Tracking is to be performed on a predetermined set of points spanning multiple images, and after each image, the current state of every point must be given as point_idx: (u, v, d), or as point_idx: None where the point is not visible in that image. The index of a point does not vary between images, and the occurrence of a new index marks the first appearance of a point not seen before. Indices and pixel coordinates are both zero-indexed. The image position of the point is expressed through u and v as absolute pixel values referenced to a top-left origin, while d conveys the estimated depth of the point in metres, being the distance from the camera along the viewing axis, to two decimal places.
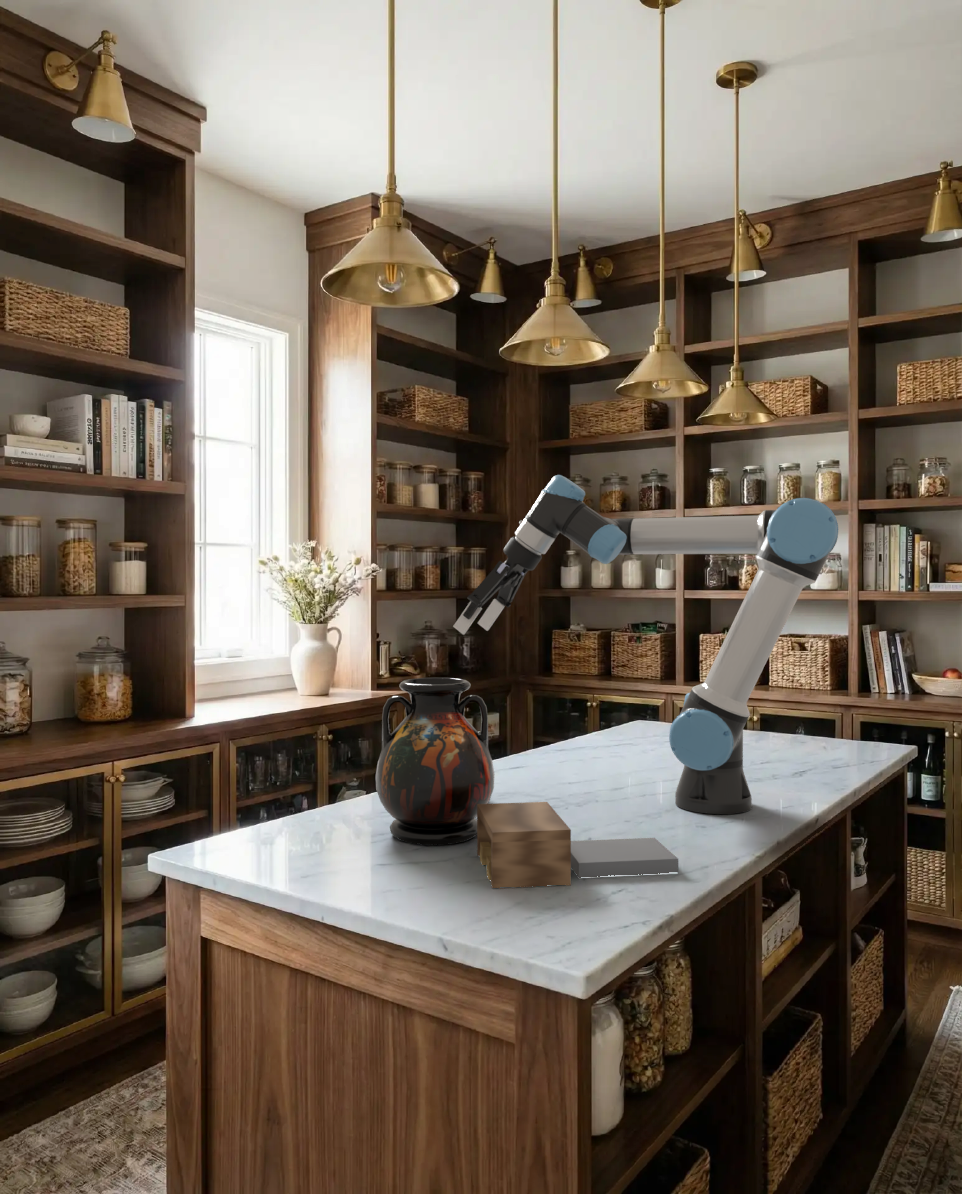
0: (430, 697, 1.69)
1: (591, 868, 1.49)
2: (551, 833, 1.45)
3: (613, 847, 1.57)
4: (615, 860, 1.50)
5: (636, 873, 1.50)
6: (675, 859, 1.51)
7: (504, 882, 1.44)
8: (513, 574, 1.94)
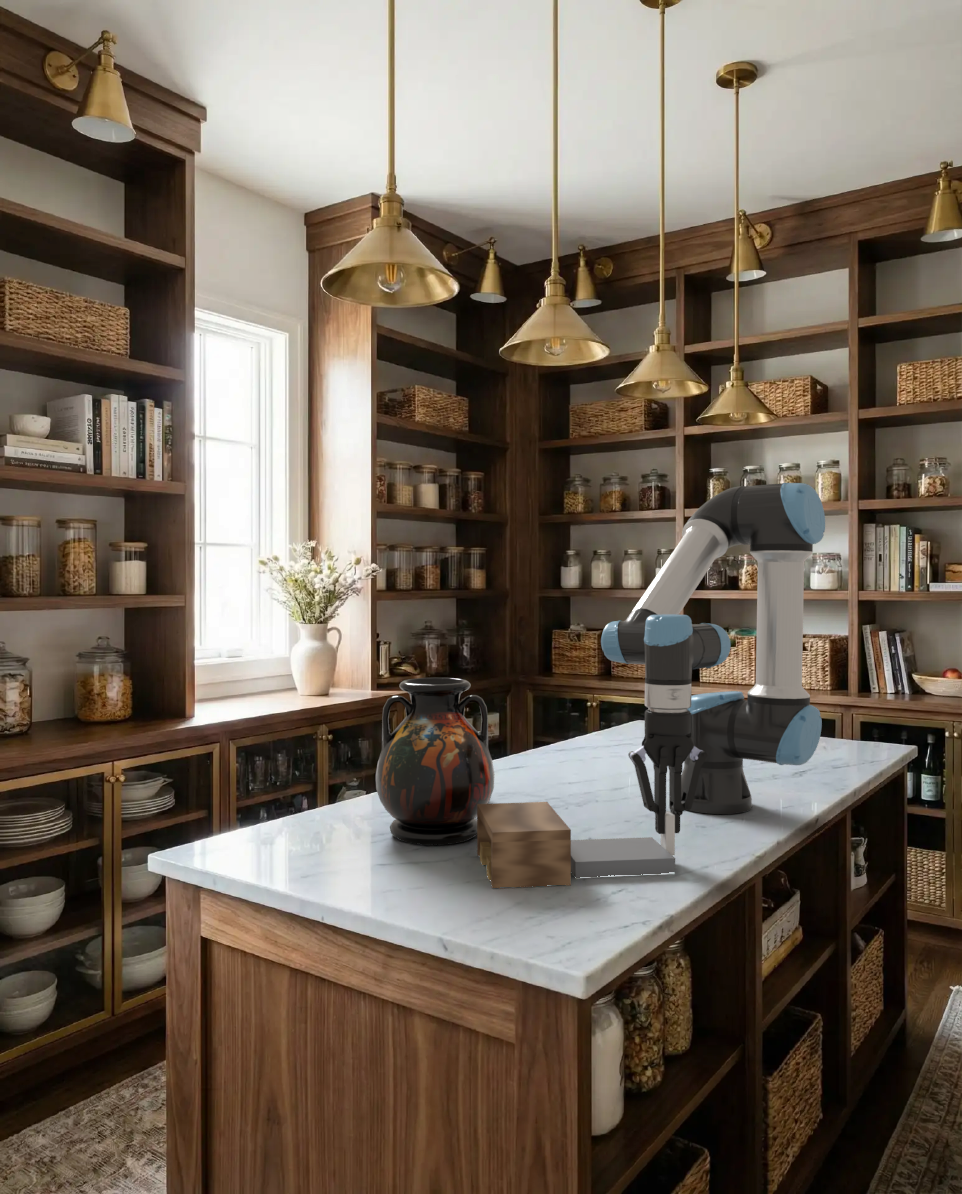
0: (430, 697, 1.69)
1: (587, 867, 1.49)
2: (551, 833, 1.45)
3: (610, 847, 1.57)
4: (612, 859, 1.50)
5: (633, 872, 1.50)
6: (672, 858, 1.51)
7: (504, 882, 1.44)
8: None
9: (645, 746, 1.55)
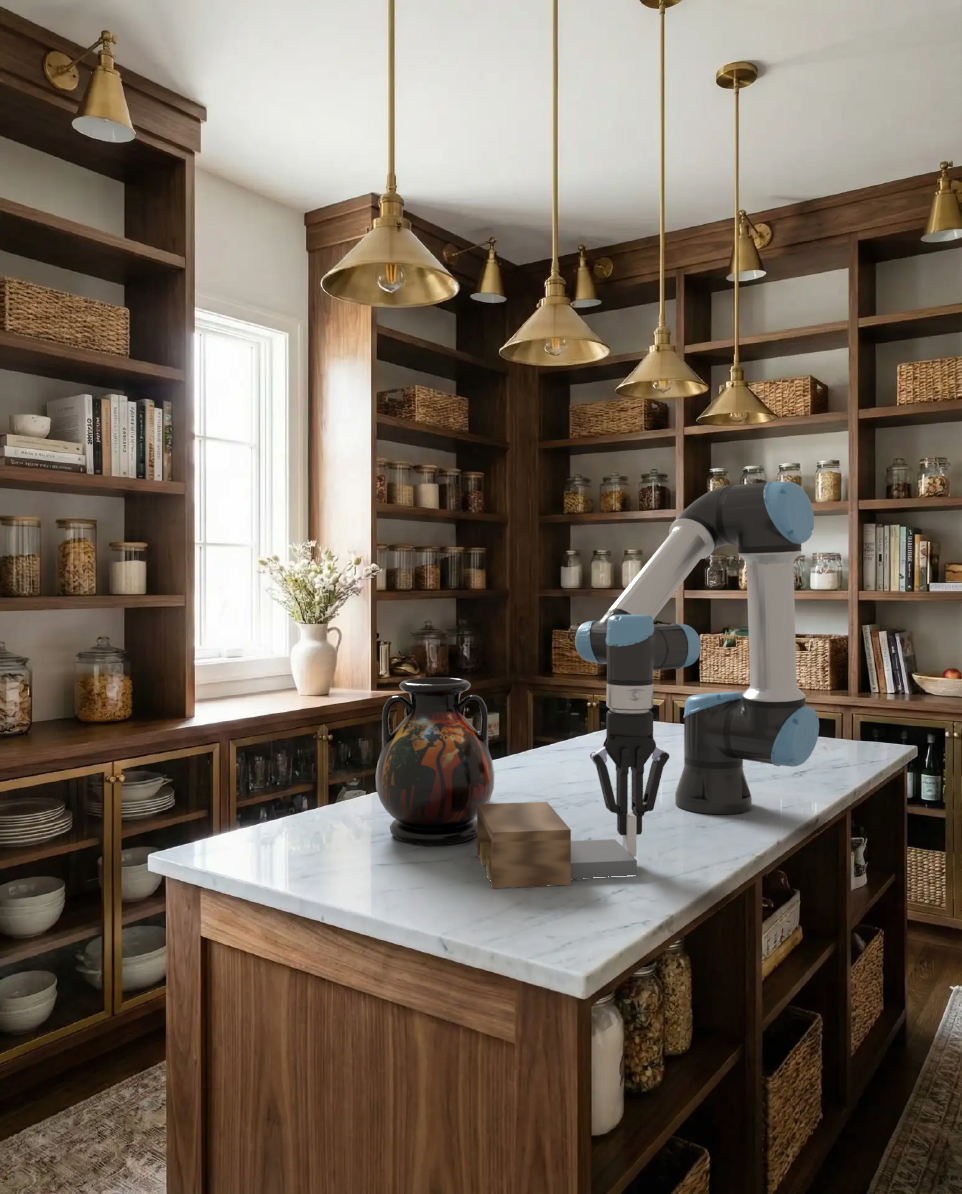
0: (430, 697, 1.69)
1: None
2: (551, 833, 1.45)
3: (572, 849, 1.56)
4: (573, 862, 1.49)
5: (594, 875, 1.49)
6: (633, 861, 1.50)
7: (504, 882, 1.44)
8: None
9: (606, 747, 1.54)
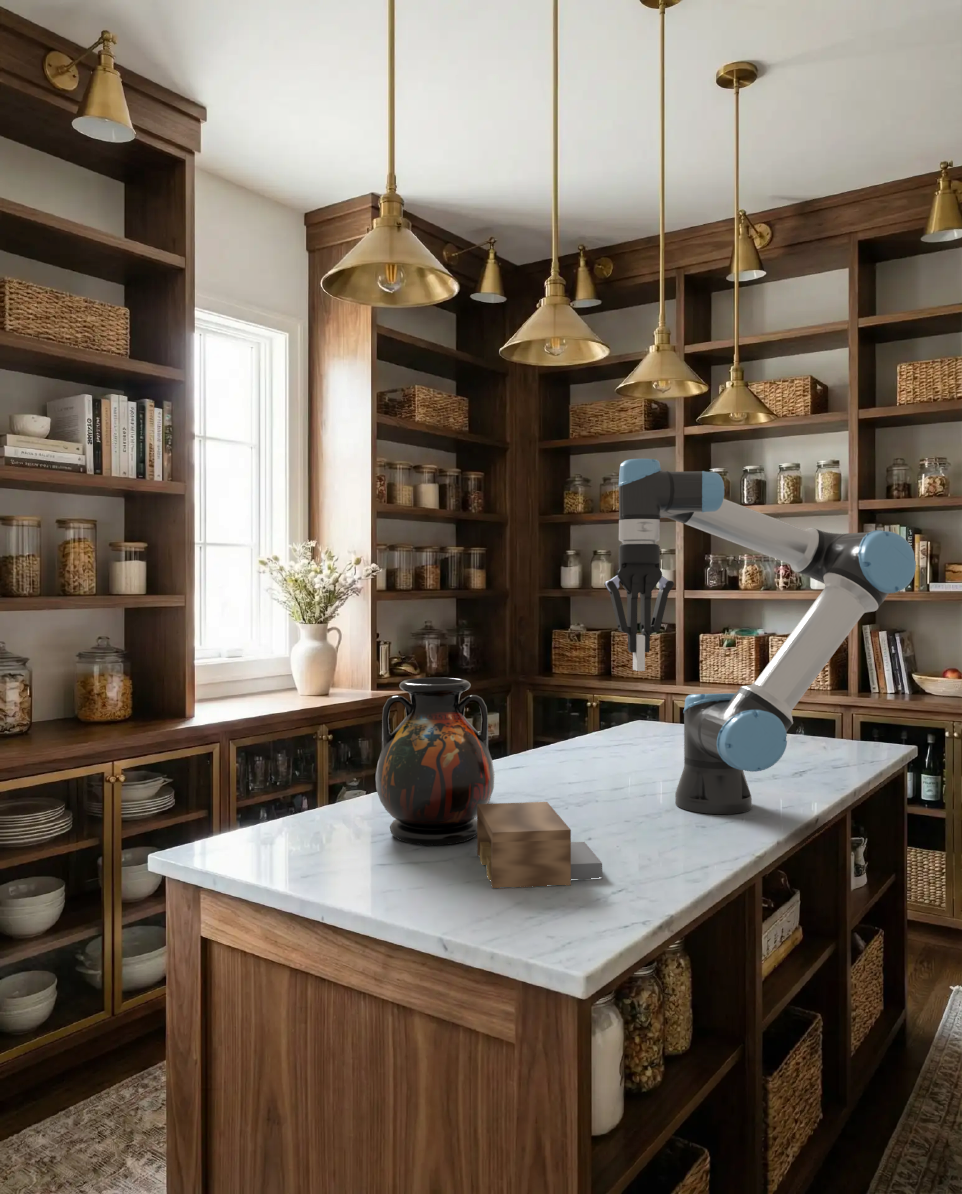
0: (430, 697, 1.69)
1: None
2: (551, 833, 1.45)
3: None
4: None
5: None
6: (599, 863, 1.49)
7: (504, 882, 1.44)
8: None
9: (619, 574, 1.76)
